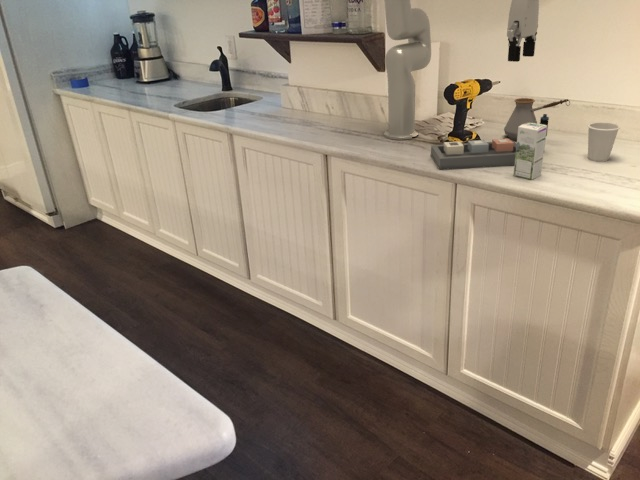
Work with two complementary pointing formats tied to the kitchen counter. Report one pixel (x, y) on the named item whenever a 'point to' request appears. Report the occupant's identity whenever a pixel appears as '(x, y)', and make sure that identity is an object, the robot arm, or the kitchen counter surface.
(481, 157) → the keypad base
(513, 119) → the coffee pot
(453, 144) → the key ivory
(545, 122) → the vaping device
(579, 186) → the kitchen counter surface
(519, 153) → the syrup box
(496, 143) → the key coral
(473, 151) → the key slate
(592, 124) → the dixie cup
